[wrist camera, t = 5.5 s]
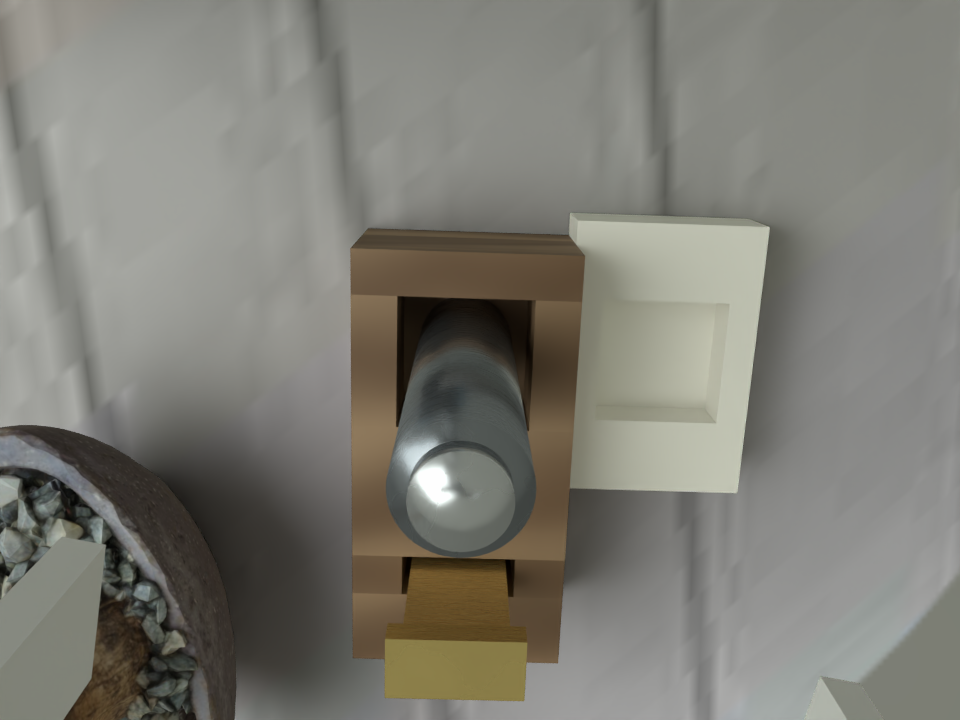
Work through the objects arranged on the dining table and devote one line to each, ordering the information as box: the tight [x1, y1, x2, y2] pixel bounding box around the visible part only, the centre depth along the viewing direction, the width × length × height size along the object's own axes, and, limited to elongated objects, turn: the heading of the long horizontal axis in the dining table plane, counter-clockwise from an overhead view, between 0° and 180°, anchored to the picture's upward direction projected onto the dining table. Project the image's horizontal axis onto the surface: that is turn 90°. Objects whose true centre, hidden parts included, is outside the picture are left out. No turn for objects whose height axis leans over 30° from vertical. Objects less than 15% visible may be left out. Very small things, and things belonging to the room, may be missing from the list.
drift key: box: [385, 557, 527, 701], centre depth 36 cm, size 2×5×10 cm, turn 88°
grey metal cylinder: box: [386, 298, 536, 558], centre depth 31 cm, size 4×4×17 cm
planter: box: [0, 425, 236, 720], centre depth 34 cm, size 15×17×20 cm
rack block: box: [569, 213, 770, 493], centre depth 39 cm, size 12×8×3 cm, turn 178°
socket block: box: [350, 228, 585, 663], centre depth 39 cm, size 18×9×6 cm, turn 178°
